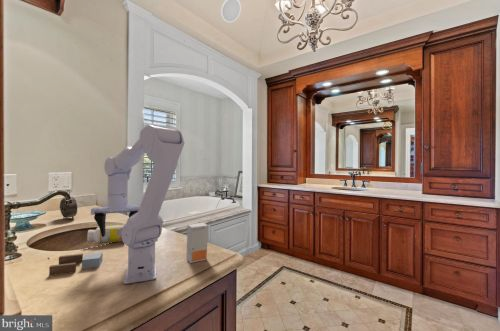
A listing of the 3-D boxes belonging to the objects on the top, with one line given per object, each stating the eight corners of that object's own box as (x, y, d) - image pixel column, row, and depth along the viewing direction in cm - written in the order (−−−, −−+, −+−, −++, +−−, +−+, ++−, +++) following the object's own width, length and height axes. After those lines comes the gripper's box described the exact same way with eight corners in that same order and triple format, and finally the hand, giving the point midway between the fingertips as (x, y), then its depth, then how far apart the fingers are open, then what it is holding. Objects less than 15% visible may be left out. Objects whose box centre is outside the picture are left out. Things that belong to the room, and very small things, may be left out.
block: (99, 267, 71) (99, 258, 70) (81, 269, 69) (81, 259, 69) (102, 261, 75) (102, 252, 75) (86, 263, 73) (86, 254, 73)
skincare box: (190, 263, 74) (191, 227, 74) (186, 259, 78) (186, 224, 78) (207, 259, 78) (208, 225, 77) (202, 255, 81) (203, 222, 81)
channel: (75, 272, 67) (75, 263, 67) (49, 275, 64) (49, 267, 64) (82, 261, 74) (82, 253, 74) (59, 263, 72) (60, 256, 72)
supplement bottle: (126, 232, 98) (90, 236, 92) (126, 220, 95) (89, 223, 90) (125, 244, 93) (87, 248, 87) (125, 232, 90) (85, 235, 84)
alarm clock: (77, 219, 124) (78, 189, 123) (65, 221, 119) (66, 190, 119) (69, 216, 129) (69, 188, 129) (57, 218, 125) (58, 189, 125)
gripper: (142, 191, 82) (141, 229, 82) (94, 192, 76) (94, 233, 76) (141, 194, 75) (140, 235, 75) (89, 196, 70) (88, 239, 70)
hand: (116, 234), depth 76 cm, fingers open, 7 cm apart
